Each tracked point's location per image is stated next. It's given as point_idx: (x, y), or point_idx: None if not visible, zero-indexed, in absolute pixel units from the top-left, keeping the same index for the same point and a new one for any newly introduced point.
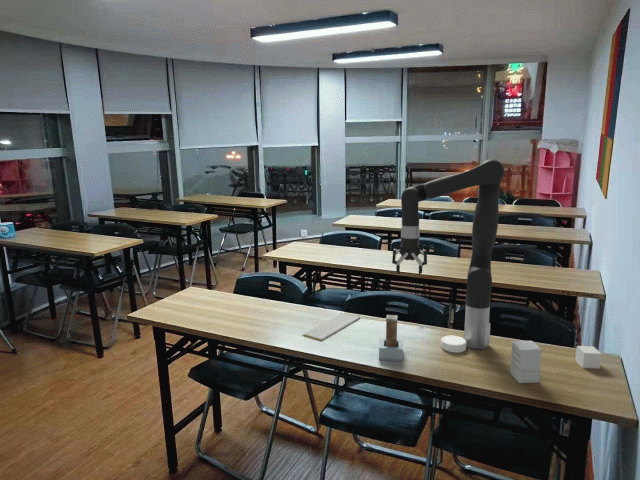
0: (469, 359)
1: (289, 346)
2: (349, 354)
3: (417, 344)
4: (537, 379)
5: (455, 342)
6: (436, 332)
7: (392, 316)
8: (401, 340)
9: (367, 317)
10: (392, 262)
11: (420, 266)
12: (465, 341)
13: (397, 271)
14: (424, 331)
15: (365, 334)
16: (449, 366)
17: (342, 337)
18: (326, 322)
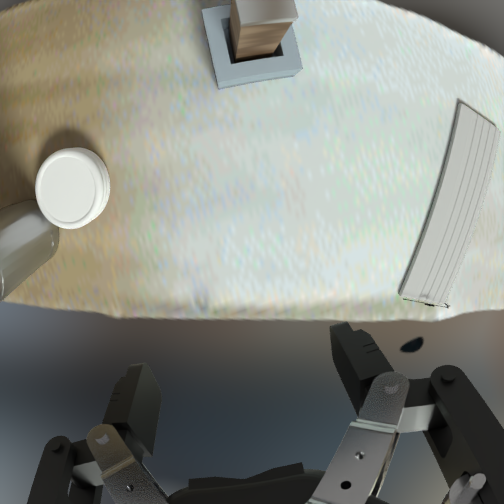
0: (31, 127)
1: (498, 64)
2: (369, 29)
3: (181, 159)
4: None
5: (58, 174)
6: (147, 277)
7: (263, 3)
8: (221, 72)
9: (379, 310)
10: (458, 370)
11: (112, 421)
12: (36, 194)
13: (358, 337)
14: (184, 272)
15: (366, 180)
16: (72, 57)
17: (421, 138)
18: (474, 220)
